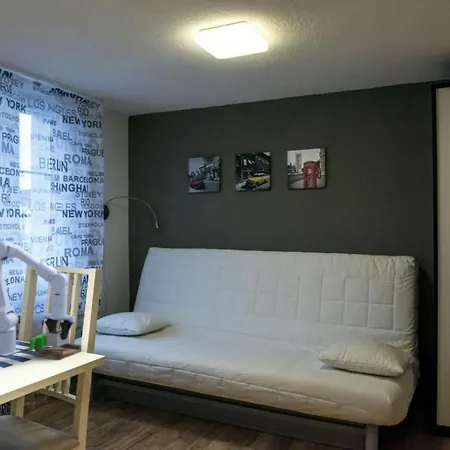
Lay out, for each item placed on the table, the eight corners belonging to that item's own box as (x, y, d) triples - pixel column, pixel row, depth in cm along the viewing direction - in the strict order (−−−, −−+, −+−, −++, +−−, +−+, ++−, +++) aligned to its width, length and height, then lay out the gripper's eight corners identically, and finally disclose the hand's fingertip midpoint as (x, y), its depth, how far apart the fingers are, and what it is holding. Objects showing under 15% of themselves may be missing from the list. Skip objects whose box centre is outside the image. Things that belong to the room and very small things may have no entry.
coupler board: (34, 355, 187) (34, 349, 187) (57, 348, 199) (57, 341, 199) (59, 359, 183) (59, 352, 183) (81, 351, 195) (81, 344, 195)
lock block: (46, 345, 188) (46, 332, 188) (58, 341, 195) (58, 328, 194) (57, 347, 186) (57, 333, 186) (69, 342, 193) (69, 329, 193)
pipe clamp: (38, 351, 195) (38, 339, 195) (29, 350, 195) (29, 339, 195) (51, 343, 206) (51, 333, 206) (43, 343, 207) (43, 332, 206)
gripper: (37, 304, 190) (36, 338, 190) (67, 307, 184) (67, 342, 184) (49, 301, 196) (49, 335, 196) (79, 304, 191) (78, 338, 191)
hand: (58, 338), depth 191 cm, fingers closed on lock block, 5 cm apart
